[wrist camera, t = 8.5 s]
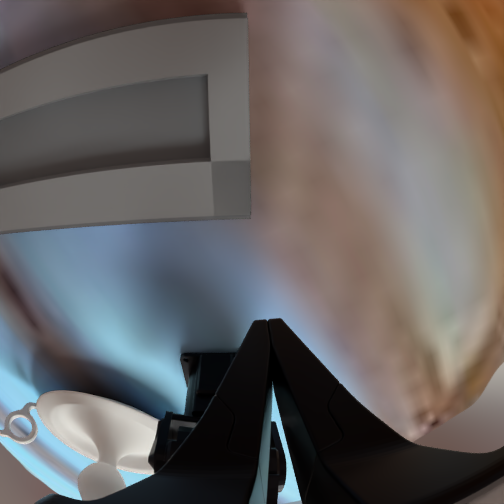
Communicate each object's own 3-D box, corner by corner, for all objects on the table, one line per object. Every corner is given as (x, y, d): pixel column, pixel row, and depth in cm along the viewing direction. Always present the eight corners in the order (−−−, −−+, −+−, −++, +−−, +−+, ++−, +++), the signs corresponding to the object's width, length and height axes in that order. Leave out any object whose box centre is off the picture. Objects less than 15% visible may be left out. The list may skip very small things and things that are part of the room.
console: (249, 207, 20) (251, 227, 17) (-31, 229, 19) (-52, 245, 16) (246, 21, 14) (247, 6, 12) (-52, 105, 14) (-77, 111, 11)
